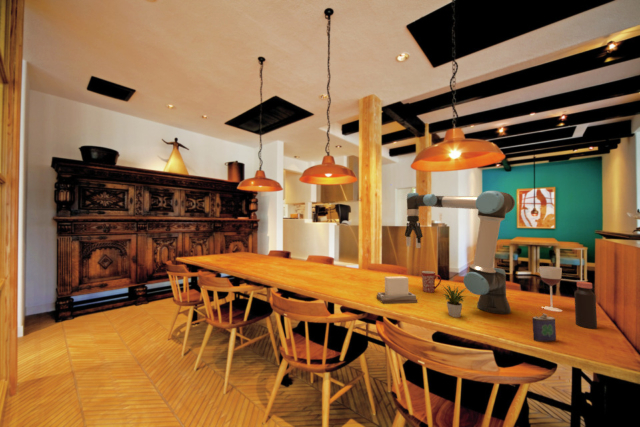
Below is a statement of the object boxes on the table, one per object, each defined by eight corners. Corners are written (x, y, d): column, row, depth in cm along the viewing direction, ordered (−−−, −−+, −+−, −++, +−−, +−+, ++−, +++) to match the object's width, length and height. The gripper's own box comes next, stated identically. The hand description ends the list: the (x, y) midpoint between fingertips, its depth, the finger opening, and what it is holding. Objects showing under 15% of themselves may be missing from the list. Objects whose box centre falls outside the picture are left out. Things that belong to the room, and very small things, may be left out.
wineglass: (567, 310, 136) (565, 268, 137) (556, 312, 132) (555, 269, 134) (547, 305, 145) (545, 265, 146) (536, 307, 141) (535, 266, 142)
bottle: (599, 327, 113) (597, 283, 114) (594, 330, 110) (592, 284, 111) (578, 322, 119) (576, 280, 120) (573, 324, 116) (571, 281, 117)
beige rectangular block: (387, 298, 149) (387, 278, 150) (384, 296, 154) (384, 276, 155) (408, 297, 151) (408, 278, 151) (404, 295, 156) (404, 276, 156)
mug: (421, 292, 171) (421, 272, 172) (421, 289, 180) (421, 270, 180) (441, 294, 166) (441, 274, 167) (441, 291, 174) (440, 272, 175)
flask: (551, 338, 102) (550, 311, 102) (559, 341, 99) (558, 314, 99) (531, 339, 101) (530, 312, 101) (538, 342, 98) (537, 315, 99)
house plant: (432, 314, 128) (431, 283, 128) (441, 308, 137) (441, 279, 138) (463, 322, 118) (462, 288, 118) (470, 315, 127) (470, 283, 128)
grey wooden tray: (417, 302, 148) (417, 296, 148) (383, 303, 145) (383, 297, 145) (408, 297, 160) (408, 291, 160) (376, 297, 157) (376, 291, 157)
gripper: (428, 215, 156) (428, 248, 155) (409, 216, 181) (409, 245, 180) (416, 214, 155) (417, 248, 154) (399, 216, 180) (400, 245, 179)
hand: (413, 247), depth 167 cm, fingers open, 13 cm apart
